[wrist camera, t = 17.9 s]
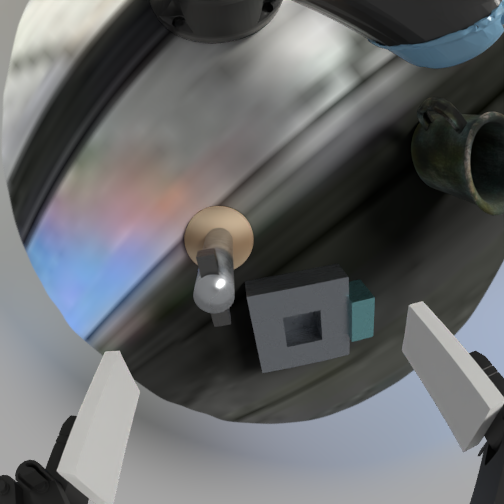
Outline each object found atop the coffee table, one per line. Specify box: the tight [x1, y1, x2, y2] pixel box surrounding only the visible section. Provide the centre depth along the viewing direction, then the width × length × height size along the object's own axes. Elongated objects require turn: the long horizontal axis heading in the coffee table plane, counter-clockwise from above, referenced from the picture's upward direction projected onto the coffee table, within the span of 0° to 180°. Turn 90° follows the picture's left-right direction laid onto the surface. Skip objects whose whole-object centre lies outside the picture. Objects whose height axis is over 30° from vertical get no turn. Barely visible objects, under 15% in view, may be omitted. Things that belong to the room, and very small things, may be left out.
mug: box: [411, 97, 504, 215], centre depth 29 cm, size 11×15×12 cm
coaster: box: [184, 206, 253, 269], centre depth 37 cm, size 8×8×1 cm
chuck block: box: [245, 264, 375, 373], centre depth 39 cm, size 12×15×5 cm
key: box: [193, 228, 234, 327], centre depth 30 cm, size 3×6×13 cm, turn 10°
